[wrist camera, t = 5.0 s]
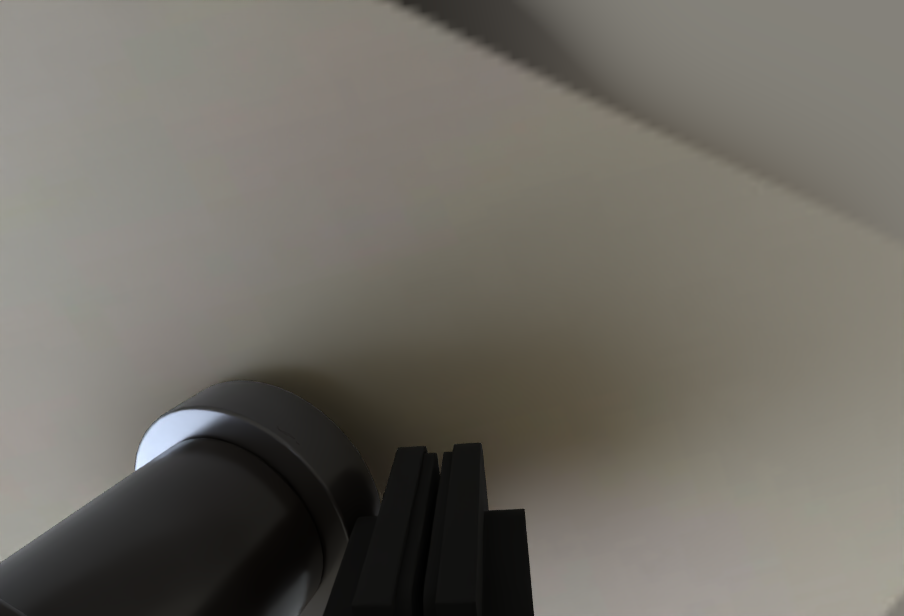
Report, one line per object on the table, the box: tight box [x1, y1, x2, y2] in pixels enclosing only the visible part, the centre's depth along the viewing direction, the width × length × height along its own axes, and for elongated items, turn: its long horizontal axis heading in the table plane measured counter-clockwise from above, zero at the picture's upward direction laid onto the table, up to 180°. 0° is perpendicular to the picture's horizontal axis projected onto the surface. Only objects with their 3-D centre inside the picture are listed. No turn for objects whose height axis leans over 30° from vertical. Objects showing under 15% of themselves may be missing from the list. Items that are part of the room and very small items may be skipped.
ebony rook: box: [0, 380, 381, 616], centre depth 9 cm, size 5×5×7 cm
